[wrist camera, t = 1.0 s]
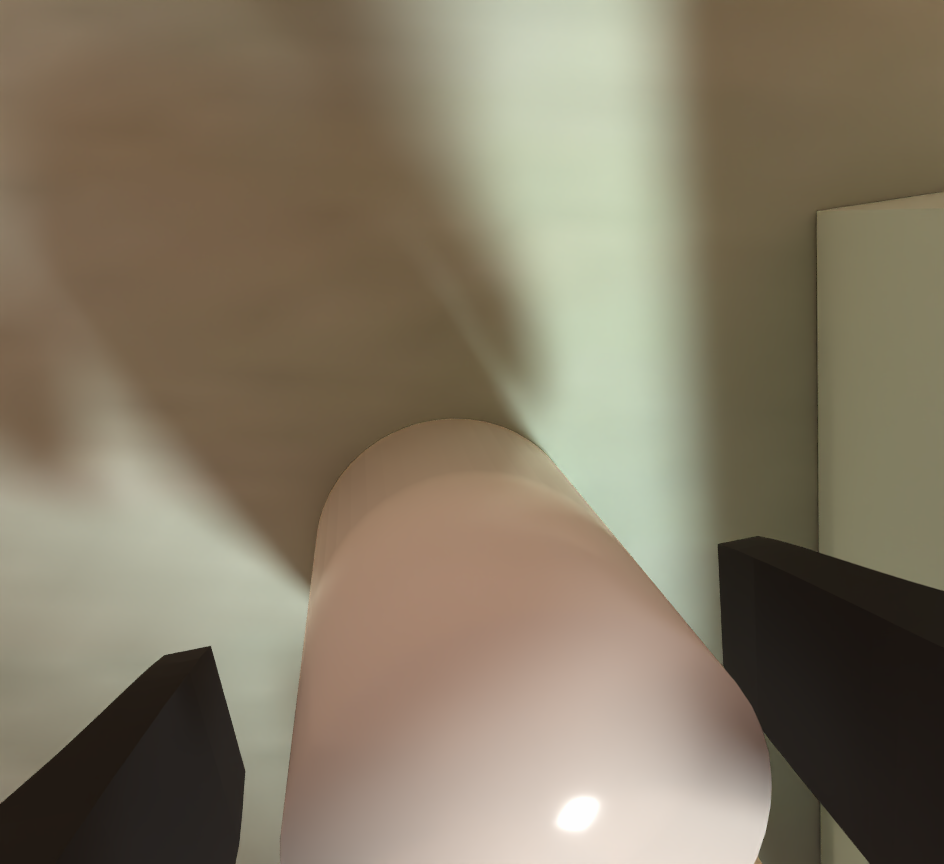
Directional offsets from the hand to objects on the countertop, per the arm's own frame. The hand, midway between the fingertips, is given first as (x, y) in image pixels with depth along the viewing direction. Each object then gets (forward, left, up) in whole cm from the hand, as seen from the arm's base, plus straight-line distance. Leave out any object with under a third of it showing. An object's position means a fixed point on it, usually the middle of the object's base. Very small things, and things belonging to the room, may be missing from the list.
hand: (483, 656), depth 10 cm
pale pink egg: (0, 0, -4) cm, 4 cm away
